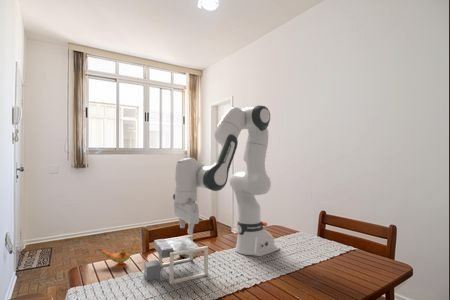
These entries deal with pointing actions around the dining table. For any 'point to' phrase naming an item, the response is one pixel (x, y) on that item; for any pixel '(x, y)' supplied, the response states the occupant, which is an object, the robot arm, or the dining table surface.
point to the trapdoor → (173, 246)
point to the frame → (185, 261)
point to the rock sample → (187, 255)
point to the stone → (152, 269)
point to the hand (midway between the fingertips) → (186, 230)
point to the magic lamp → (118, 256)
